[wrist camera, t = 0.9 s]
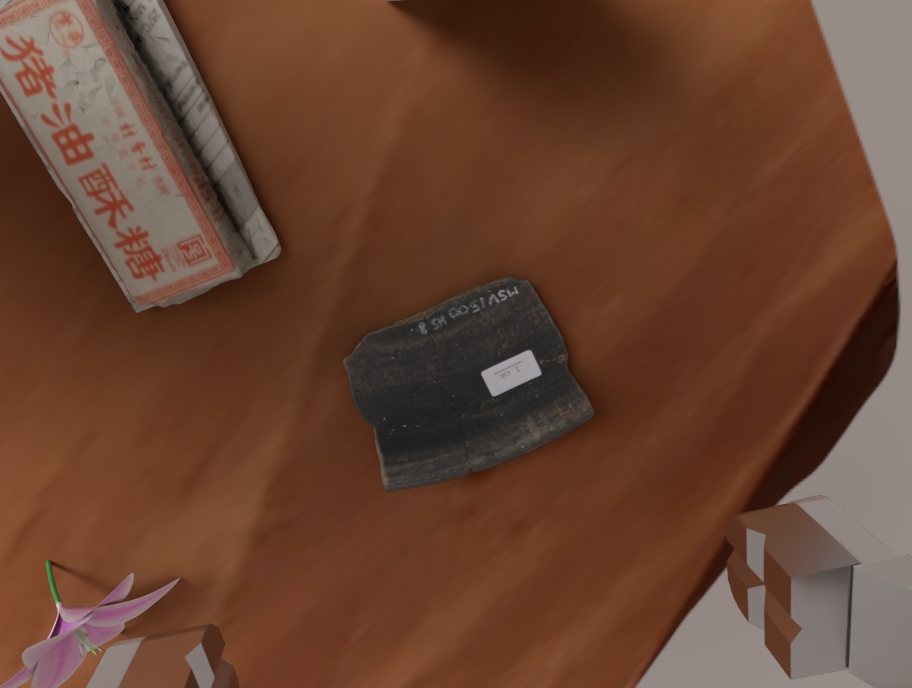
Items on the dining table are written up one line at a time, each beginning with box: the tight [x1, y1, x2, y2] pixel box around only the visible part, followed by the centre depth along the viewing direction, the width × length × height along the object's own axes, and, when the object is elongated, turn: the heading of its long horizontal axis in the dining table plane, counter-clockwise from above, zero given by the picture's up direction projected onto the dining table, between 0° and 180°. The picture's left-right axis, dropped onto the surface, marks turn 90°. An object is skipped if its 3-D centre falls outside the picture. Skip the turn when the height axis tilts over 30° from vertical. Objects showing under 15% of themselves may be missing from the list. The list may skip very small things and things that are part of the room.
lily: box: [0, 560, 180, 688], centre depth 44 cm, size 12×12×10 cm
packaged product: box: [0, 0, 281, 313], centre depth 35 cm, size 18×5×10 cm
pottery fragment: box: [343, 276, 594, 492], centre depth 43 cm, size 15×12×4 cm
